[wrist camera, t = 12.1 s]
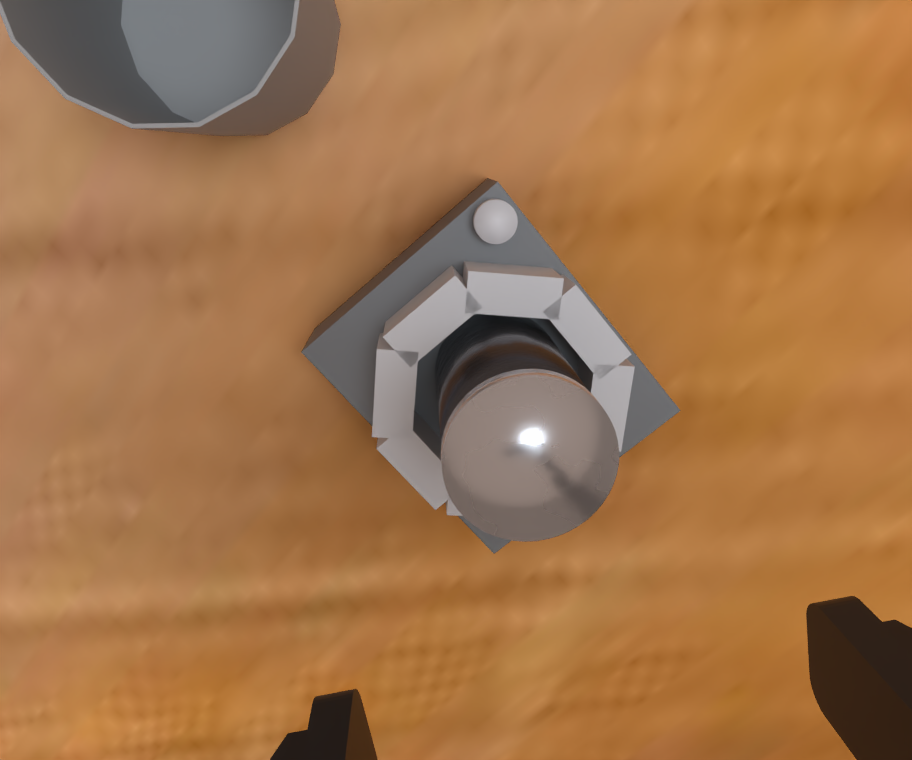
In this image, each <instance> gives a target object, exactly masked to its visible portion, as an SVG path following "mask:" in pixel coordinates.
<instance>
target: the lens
mask: <svg viewBox="0 0 912 760" xmlns="http://www.w3.org/2000/svg"><path fill="white" fill-rule="evenodd" d="M435 380H436V391H437V402H438V413H439V424H440V435H441V465H442V474H443V479H444V484H445V487H446V490H447V493H448V495H449V497H450V499H451V501H452V502H453V504H454V505H455V507H456V508H457V510H458V511H459V512H460V513H461V514H462V515H463V516H464V517H465V518H466V519H467V520H468V521H469V522H470V523H472V524H473V525H474V526H476V527H477V528H479V529H481V530H482V531H484V532H486V533H488V534H491V535H493V536H496V537H499V538H502V539H507V540H512V541H525V542H526V541H539V540H545V539H549V538H553V537H556V536H559V535H562V534H564V533H566V532H569V531H570V530H572V529H574V528H576V527H577V526H579V525H580V524H582V523H583V522H585V521H586V520H587V519H588V518H589V517H591V516H592V515H593V514H594V513H595V512H596V511H597V510H598V508H599V507H600V506H601V505H602V504H603V502H604V501H605V499H606V498H607V496H608V494H609V493H610V490H611V488H612V486H613V484H614V481H615V478H616V475H617V470H618V465H619V445H618V439H617V435H616V431H615V429H614V426H613V424H612V422H611V420H610V418H609V416H608V415H607V413H606V411H605V410H604V409H603V407H602V406H601V405H600V403H599V402H598V401H597V399H596V398H595V397H594V396H593V394H592V393H590V392H589V391H588V389H587V388H586V387H585V385H584V384H583V382H582V381H581V380H580V378H579V377H578V375H577V374H576V373H575V371H574V370H573V368H572V367H571V366H570V364H569V363H568V361H567V360H566V359H565V357H564V356H563V354H562V353H561V352H560V350H559V349H558V347H557V346H556V345H555V343H554V342H553V340H552V339H551V338H550V336H549V335H548V334H547V332H546V331H545V330H544V329H543V328H542V327H541V326H540V325H539V324H538V323H536V322H535V321H533V320H532V319H530V318H527V317H513V316H500V315H486V314H476V315H473V316H471V317H470V318H469V319H468V320H466V321H465V322H464V323H463V324H462V325H460V326H459V327H458V328H457V329H456V330H455V331H453V332H452V333H451V334H450V335H449V336H447V337H446V338H445V340H444V342H443V343H442V345H441V347H440V350H439V352H438V355H437V359H436V365H435Z"/></svg>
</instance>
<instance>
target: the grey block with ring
mask: <svg viewBox="0 0 912 760" xmlns="http://www.w3.org/2000/svg"><path fill="white" fill-rule="evenodd" d="M476 314H486V315H500V316H513V317H527V318H530V319H532V320H533V321H535V322H536V323H538V324H539V325H540V326H541V327H542V328H543V329H544V330H545V331H546V332H547V334H548V335H549V336H550V338H551V339H552V340H553V342H554V343H555V345H556V346H557V347H558V349H559V350H560V352H561V353H562V354H563V356H564V357H565V359H566V360H567V361H568V363H569V364H570V366H571V367H572V368H573V370H574V371H575V373H576V374H577V375H578V377H579V378H580V380H581V381H582V382H583V384H584V385H585V387H586V388H587V389H588V391H589V392H590V393H592V394H593V396H594V397H595V398H596V399H597V401H598V402H599V403H600V405H601V406H602V407H603V409H604V410H605V411H606V413H607V415H608V416H609V418H610V420H611V422H612V424H613V426H614V429H615V431H616V435H617V439H618V445H619V457H621V456H622V455H623V454H624V453H626V452H627V451H628V450H630V449H631V448H632V447H634V446H635V445H636V444H638V443H639V442H640V441H641V440H643V439H644V438H645V437H647V436H648V435H649V434H651V433H652V432H653V431H654V430H656V429H657V428H658V427H660V426H661V425H662V424H664V423H665V422H666V421H667V420H669V419H670V418H671V417H673V416H674V415H675V414H677V413H678V412H679V411H680V409H679V408H678V407H677V406H676V404H675V403H674V402H673V401H672V399H671V398H670V397H669V396H668V394H667V393H666V392H665V391H664V389H663V388H662V387H661V386H660V384H659V383H658V382H657V381H656V379H655V378H654V377H653V376H652V374H651V373H650V372H649V371H648V369H647V368H646V367H645V366H644V364H643V363H642V362H641V361H640V359H639V358H638V357H637V356H636V354H635V353H634V352H633V351H632V349H631V348H630V347H629V346H628V344H627V343H626V342H625V341H624V339H623V338H622V337H621V336H620V334H619V333H618V332H617V331H616V329H615V328H614V327H613V326H612V324H611V323H610V322H609V321H608V319H607V318H606V317H605V316H604V314H603V313H602V312H601V311H600V309H599V308H598V307H597V306H596V304H595V303H594V302H593V301H592V299H591V298H590V297H589V296H588V294H587V293H586V292H585V291H584V289H583V288H582V287H581V285H580V284H579V283H578V282H577V280H576V279H575V278H574V277H573V275H572V274H571V273H570V272H569V270H568V269H567V268H566V267H565V265H564V264H563V263H562V262H561V260H560V259H559V258H558V257H557V255H556V254H555V253H554V252H553V250H552V249H551V248H550V247H549V245H548V244H547V243H546V242H545V240H544V239H543V238H542V237H541V235H540V234H539V233H538V232H537V230H536V229H535V228H534V227H533V225H532V224H531V223H530V222H529V220H528V219H527V218H526V217H525V215H524V214H523V213H522V212H521V210H520V209H519V208H518V207H517V205H516V204H515V203H514V202H513V200H512V199H511V198H510V197H509V195H508V194H507V193H506V192H505V190H504V189H503V188H502V187H501V185H500V184H499V183H498V182H497V181H494V180H491V179H489V178H487V179H486V180H485V181H484V182H483V183H482V184H481V185H479V186H478V187H477V188H476V189H475V190H474V191H472V192H471V193H470V194H469V195H468V196H467V197H466V198H464V199H463V200H462V201H461V202H460V203H459V204H458V205H456V206H455V207H454V208H453V209H452V210H451V211H449V212H448V213H447V214H446V215H445V216H444V217H443V218H441V219H440V220H439V221H438V222H437V223H436V224H435V225H433V226H432V227H431V228H430V229H429V230H428V231H427V232H425V233H424V234H423V235H422V236H421V237H420V238H418V239H417V240H416V241H415V242H414V243H413V244H412V245H410V246H409V247H408V248H407V249H406V250H405V251H404V252H402V253H401V254H400V255H399V256H398V257H397V258H395V259H394V260H393V261H392V262H391V263H390V264H389V265H387V266H386V267H385V268H384V269H383V270H382V271H381V272H379V273H378V274H377V275H376V276H375V277H374V278H373V279H371V280H370V281H369V282H368V283H367V284H366V285H364V286H363V287H362V288H361V289H360V290H359V291H358V292H356V293H355V294H354V295H353V296H352V297H351V298H350V299H348V300H347V301H346V302H345V303H344V304H343V305H341V306H340V307H339V308H338V309H337V310H336V311H335V312H333V313H332V314H331V315H330V316H329V317H328V318H327V319H325V320H324V321H323V322H322V323H321V324H320V325H319V326H317V327H316V328H315V329H314V331H313V333H312V334H311V336H310V338H309V340H308V341H307V343H306V345H305V347H304V348H303V350H302V353H303V354H304V355H305V356H306V357H307V359H308V360H309V361H310V362H311V363H312V364H313V365H314V366H315V367H316V368H317V369H318V370H319V371H320V372H321V373H322V374H323V375H324V376H325V377H326V378H327V379H328V380H329V382H330V383H331V384H332V385H333V386H334V387H335V388H336V389H337V390H338V391H339V392H340V393H341V394H342V395H343V396H344V397H345V398H346V399H347V400H348V401H349V402H350V404H351V405H352V406H353V407H354V408H355V409H356V410H357V411H358V412H359V413H360V414H361V415H362V416H363V417H364V418H365V419H366V420H367V421H368V422H369V423H370V424H371V425H372V437H378V440H377V448H376V449H377V450H378V451H379V452H380V453H381V454H382V455H383V456H384V457H385V458H386V459H387V460H388V461H389V462H390V463H391V464H392V465H393V467H394V468H395V469H396V470H397V471H398V472H399V473H400V474H401V475H402V476H403V477H404V478H405V479H406V480H407V481H408V482H409V483H410V484H411V485H412V486H413V487H414V488H415V489H416V490H417V491H418V492H419V493H420V495H421V496H422V497H423V498H424V499H425V500H426V501H427V502H428V503H429V504H430V505H431V506H432V507H433V508H434V509H435V510H436V509H437V508H439V507H440V506H441V505H442V504H444V503H446V512H447V515H457V516H459V518H460V519H461V520H462V521H463V522H464V523H465V524H466V525H467V526H468V527H469V528H470V529H471V530H472V531H473V532H474V533H475V534H476V535H477V536H478V537H479V538H480V539H481V541H482V542H483V543H484V544H485V545H486V546H487V547H488V548H489V549H490V550H491V551H492V552H493V553H496V552H497V551H498V550H500V549H501V548H502V547H503V546H505V545H506V544H507V543H509V542H510V541H511V540H507V539H502V538H499V537H496V536H493V535H491V534H488V533H486V532H484V531H482V530H481V529H479V528H477V527H476V526H474V525H473V524H472V523H470V522H469V521H468V520H467V519H466V518H465V517H464V516H463V515H462V514H461V513H460V512H459V511H458V510H457V508H456V507H455V505H454V504H453V502H452V501H451V499H450V497H449V495H448V493H447V490H446V487H445V484H444V479H443V474H442V465H441V435H440V424H439V413H438V402H437V391H436V380H435V365H436V359H437V355H438V352H439V350H440V347H441V345H442V343H443V342H444V340H445V338H446V337H447V336H449V335H450V334H451V333H452V332H453V331H455V330H456V329H457V328H458V327H459V326H460V325H462V324H463V323H464V322H465V321H466V320H468V319H469V318H470V317H471V316H473V315H476Z"/></svg>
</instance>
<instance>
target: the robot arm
mask: <svg viewBox="0 0 912 760" xmlns="http://www.w3.org/2000/svg"><path fill="white" fill-rule="evenodd" d="M806 614H807V635H808V653H809V672H810V681H811V685H812V689H813V692H814V695H815V698H816V700H817V703H818V705H819V707H820V709H821V711H822V712H823V714H824V715H825V717H826V718H827V720H828V721H829V722H830V724H831V725H832V726H833V728H834V729H835V731H836V732H837V733H838V735H839V736H840V737H841V739H842V740H843V741H844V743H845V744H846V746H847V747H848V748H849V750H850V751H851V752H852V754H853V755H854V756H855V758H856V759H857V760H912V628H910V627H908V626H906V625H904V624H903V623H901V622H899V621H897V620H891V621H885V622H882V621H881V620H880V619H879V618H878V617H877V616H875V615H874V614H873V613H872V612H871V611H870V610H869V609H868V608H867V607H866V606H865V605H864V604H863V603H862V602H861V601H860V600H859V599H858V598H856V597H854V596H849V597H844V598H838V599H833V600H828V601H823V602H817V603H812V604H810V605H809V606H808V608H807V613H806ZM270 760H377V756H376V752H375V748H374V744H373V741H372V737H371V733H370V730H369V726H368V722H367V718H366V715H365V711H364V707H363V704H362V700H361V696H360V694H359V692H358V690H357V689H353V690H348V691H342V692H337V693H332V694H327V695H321V696H316V697H315V698H314V700H313V704H312V709H311V714H310V719H309V724H308V730H304V731H299V732H293V733H288V734H287V736H286V737H285V738H284V740H283V741H282V743H281V744H280V746H279V747H278V749H277V750H276V752H275V753H274V754H273V756H272V757H271V759H270Z"/></svg>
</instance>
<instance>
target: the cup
mask: <svg viewBox="0 0 912 760" xmlns="http://www.w3.org/2000/svg"><path fill="white" fill-rule="evenodd" d="M0 14H1V17H2V19H3V22H4V24H5V27H6V29H7V32H8V34H9V37H10V39H11V42H12V43H13V44H14V45H15V46H16V47H17V48H18V49H19V50H20V51H21V52H22V53H23V54H24V56H25V57H26V58H27V59H28V60H29V61H30V62H31V63H32V64H33V65H34V66H35V67H36V68H37V69H38V70H39V71H40V72H41V74H42V75H43V76H44V77H45V78H46V79H47V80H48V81H49V82H50V83H51V84H52V85H53V86H54V87H55V88H56V89H57V91H58V92H59V93H60V94H61V95H62V96H63V97H64V98H65V99H67V100H69V101H71V102H74V103H76V104H78V105H80V106H83V107H85V108H87V109H89V110H92V111H94V112H96V113H98V114H101V115H103V116H105V117H107V118H109V119H112V120H114V121H116V122H118V123H121V124H123V125H125V126H127V127H130V128H132V129H144V130H156V131H168V132H179V133H191V134H203V135H215V136H246V135H268V134H270V133H272V132H274V131H276V130H277V129H279V128H281V127H283V126H285V125H286V124H288V123H290V122H292V121H294V120H296V119H297V118H299V117H301V116H303V115H305V114H307V113H308V111H309V110H310V108H311V107H312V105H313V104H314V102H315V101H316V99H317V98H318V96H319V95H320V93H321V92H322V90H323V89H324V87H325V86H326V84H327V83H328V81H329V80H330V78H331V77H332V75H333V73H334V66H335V59H336V52H337V46H338V39H339V32H340V25H341V23H340V20H339V16H338V12H337V9H336V5H335V1H334V0H0Z"/></svg>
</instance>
